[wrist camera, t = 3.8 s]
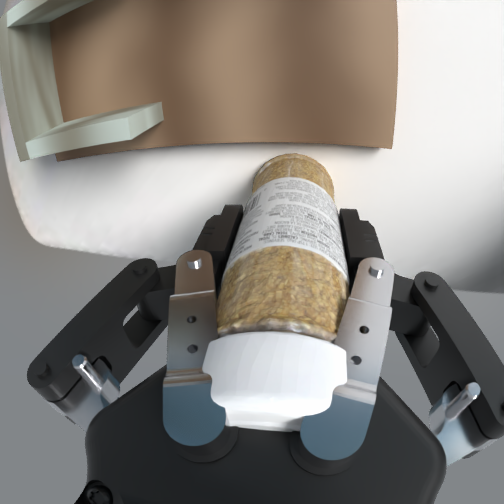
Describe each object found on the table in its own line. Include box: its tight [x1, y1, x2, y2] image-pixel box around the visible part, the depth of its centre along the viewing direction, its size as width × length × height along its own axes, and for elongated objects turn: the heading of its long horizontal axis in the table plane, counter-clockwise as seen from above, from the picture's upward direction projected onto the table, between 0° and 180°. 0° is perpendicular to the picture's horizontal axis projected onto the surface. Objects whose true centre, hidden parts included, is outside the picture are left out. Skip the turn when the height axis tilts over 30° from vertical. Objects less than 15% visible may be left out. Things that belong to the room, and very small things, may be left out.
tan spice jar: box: [202, 153, 356, 432], centre depth 11 cm, size 5×5×14 cm
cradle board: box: [0, 0, 398, 162], centre depth 10 cm, size 20×13×4 cm, turn 93°
